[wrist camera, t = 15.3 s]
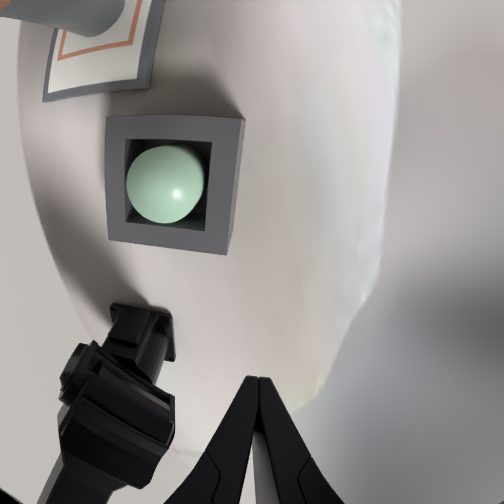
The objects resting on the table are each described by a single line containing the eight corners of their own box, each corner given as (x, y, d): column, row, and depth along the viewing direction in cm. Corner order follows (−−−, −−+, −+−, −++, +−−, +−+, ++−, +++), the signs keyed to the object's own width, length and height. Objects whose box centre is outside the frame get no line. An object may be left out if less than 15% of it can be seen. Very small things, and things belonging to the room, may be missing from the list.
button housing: (232, 230, 20) (226, 255, 17) (132, 218, 20) (108, 239, 16) (245, 120, 17) (241, 119, 13) (134, 115, 16) (106, 116, 13)
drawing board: (149, 88, 16) (143, 87, 15) (48, 102, 15) (41, 102, 14) (182, -55, 9) (179, -61, 8) (80, -29, 9) (74, -33, 8)
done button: (206, 210, 18) (196, 227, 15) (145, 204, 18) (127, 219, 15) (212, 144, 16) (202, 149, 13) (147, 141, 16) (127, 146, 13)
